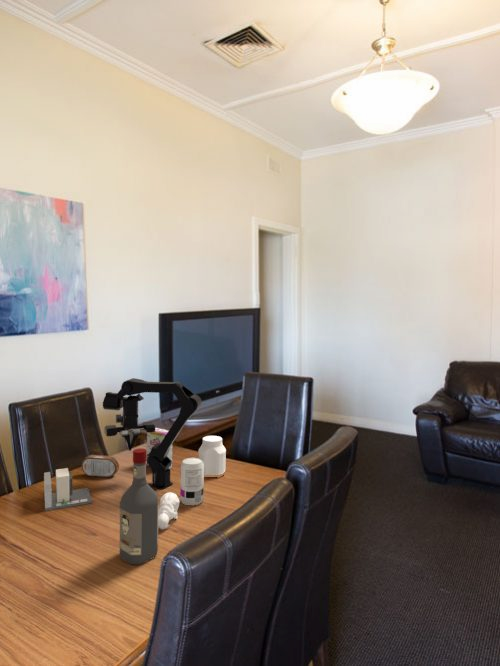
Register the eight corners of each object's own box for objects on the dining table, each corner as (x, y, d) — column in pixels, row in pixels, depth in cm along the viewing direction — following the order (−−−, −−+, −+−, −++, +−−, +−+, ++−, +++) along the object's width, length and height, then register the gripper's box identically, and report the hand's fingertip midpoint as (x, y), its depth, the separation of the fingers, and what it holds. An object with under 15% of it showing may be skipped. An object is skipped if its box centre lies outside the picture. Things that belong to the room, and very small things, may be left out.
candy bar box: (145, 466, 194) (146, 429, 193) (153, 463, 199) (154, 426, 198) (164, 471, 188) (165, 433, 187) (172, 468, 193) (173, 430, 192)
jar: (196, 477, 183) (197, 441, 182) (199, 469, 192) (200, 434, 192) (224, 478, 183) (225, 442, 182) (226, 469, 192) (226, 435, 191)
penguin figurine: (180, 490, 149) (170, 510, 137) (181, 514, 150) (170, 535, 138) (162, 489, 150) (150, 508, 138) (162, 512, 151) (150, 533, 139)
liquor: (142, 542, 132) (143, 443, 130) (162, 554, 126) (163, 450, 124) (115, 555, 125) (115, 450, 123) (135, 568, 119) (136, 458, 117)
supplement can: (175, 503, 158) (176, 462, 158) (189, 495, 166) (189, 455, 165) (194, 509, 155) (195, 466, 154) (207, 500, 162) (208, 459, 161)
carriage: (70, 491, 164) (70, 467, 163) (73, 503, 154) (73, 477, 154) (55, 493, 161) (55, 469, 161) (57, 505, 152) (57, 480, 151)
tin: (119, 475, 183) (119, 455, 183) (116, 478, 180) (116, 458, 179) (84, 473, 185) (84, 453, 184) (80, 476, 181) (80, 456, 181)
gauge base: (88, 490, 168) (88, 466, 168) (91, 503, 157) (91, 478, 157) (44, 496, 162) (44, 472, 161) (45, 511, 151) (44, 485, 150)
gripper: (149, 405, 186) (148, 441, 187) (102, 408, 177) (101, 446, 178) (156, 411, 176) (155, 449, 177) (107, 414, 167) (106, 455, 168)
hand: (129, 450), depth 175 cm, fingers closed
